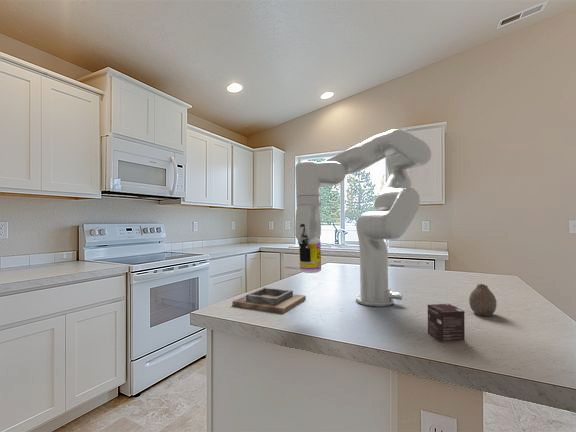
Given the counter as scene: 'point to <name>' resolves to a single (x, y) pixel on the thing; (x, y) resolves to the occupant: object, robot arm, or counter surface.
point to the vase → (482, 301)
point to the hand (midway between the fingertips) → (310, 259)
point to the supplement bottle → (312, 257)
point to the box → (446, 323)
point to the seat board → (270, 300)
